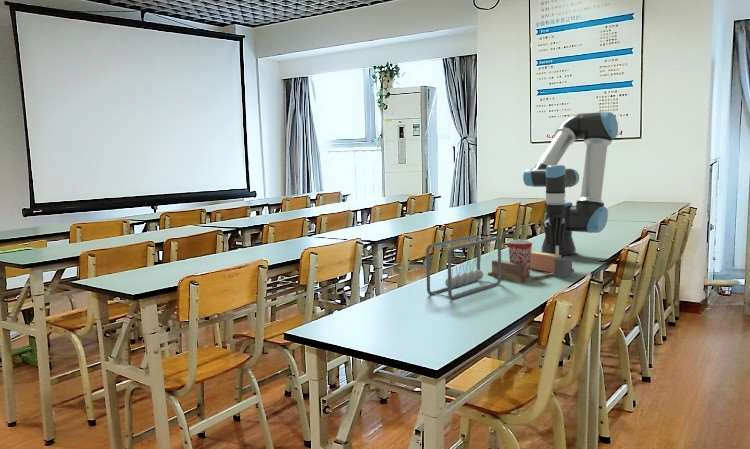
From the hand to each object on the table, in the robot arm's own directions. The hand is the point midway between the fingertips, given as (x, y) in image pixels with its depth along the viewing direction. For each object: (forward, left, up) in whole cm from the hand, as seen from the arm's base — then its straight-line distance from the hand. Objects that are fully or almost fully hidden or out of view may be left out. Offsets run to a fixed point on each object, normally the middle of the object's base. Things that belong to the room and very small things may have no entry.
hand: (554, 261), depth 241 cm
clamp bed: (+15, 0, -3) cm, 15 cm away
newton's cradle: (+52, +2, -3) cm, 52 cm away
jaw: (+7, 0, -3) cm, 7 cm away
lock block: (+11, +12, -3) cm, 17 cm away
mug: (+19, 0, -3) cm, 20 cm away
